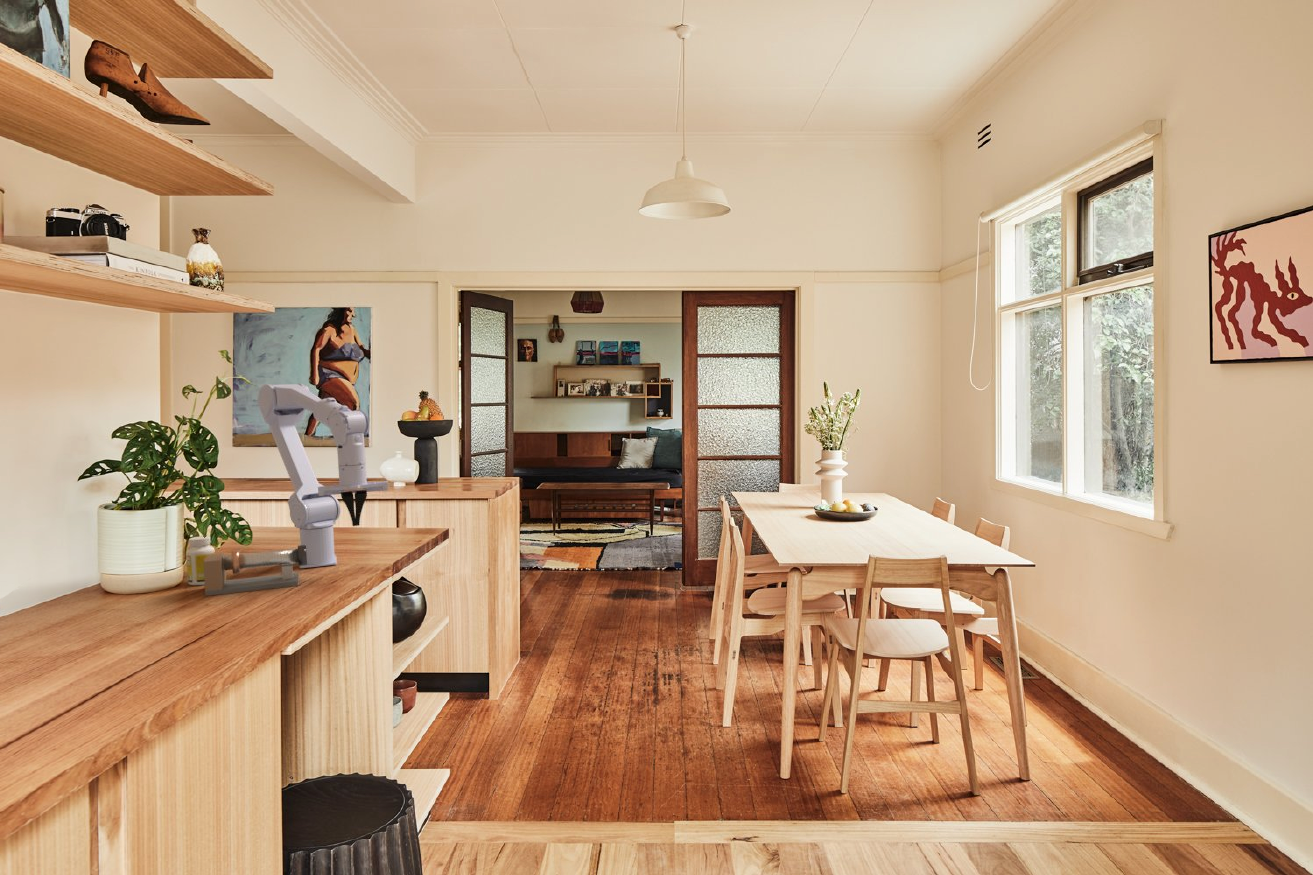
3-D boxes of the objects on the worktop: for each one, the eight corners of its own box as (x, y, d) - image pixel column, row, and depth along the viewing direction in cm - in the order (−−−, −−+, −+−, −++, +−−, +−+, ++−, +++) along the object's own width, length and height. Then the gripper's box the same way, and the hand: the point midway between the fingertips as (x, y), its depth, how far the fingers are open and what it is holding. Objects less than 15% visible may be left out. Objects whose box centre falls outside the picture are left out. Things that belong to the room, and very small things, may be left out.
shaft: (226, 572, 167) (224, 549, 166) (307, 564, 173) (306, 541, 172) (223, 577, 162) (222, 553, 162) (307, 568, 168) (305, 545, 168)
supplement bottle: (222, 579, 173) (219, 535, 172) (206, 586, 168) (203, 540, 167) (199, 579, 174) (196, 535, 173) (182, 585, 168) (179, 540, 168)
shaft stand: (210, 586, 167) (208, 554, 166) (298, 577, 174) (296, 545, 173) (205, 596, 160) (203, 561, 159) (298, 585, 166) (296, 552, 166)
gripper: (316, 468, 170) (320, 531, 171) (387, 463, 175) (391, 524, 176) (316, 466, 176) (320, 526, 177) (385, 461, 182) (388, 519, 183)
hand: (355, 525), depth 177 cm, fingers closed
